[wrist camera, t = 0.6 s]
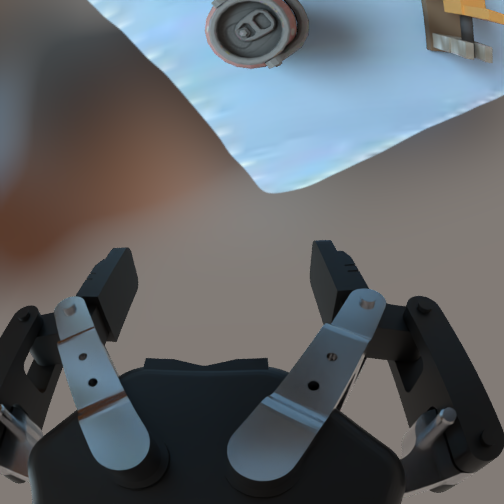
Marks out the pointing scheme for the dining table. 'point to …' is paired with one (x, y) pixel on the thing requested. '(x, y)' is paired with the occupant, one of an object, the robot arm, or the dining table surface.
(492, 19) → the sleeve
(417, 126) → the dining table surface
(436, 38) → the cord rig
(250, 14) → the beverage can
